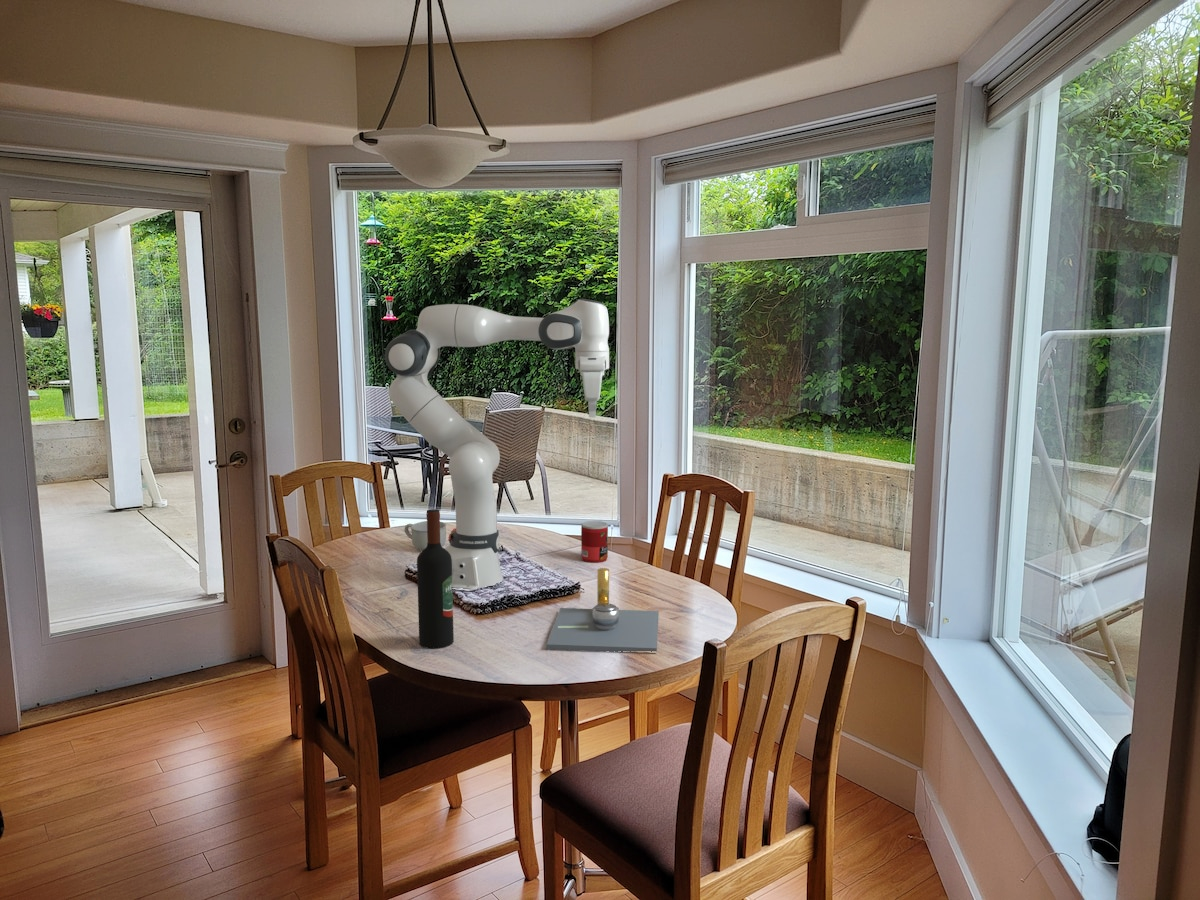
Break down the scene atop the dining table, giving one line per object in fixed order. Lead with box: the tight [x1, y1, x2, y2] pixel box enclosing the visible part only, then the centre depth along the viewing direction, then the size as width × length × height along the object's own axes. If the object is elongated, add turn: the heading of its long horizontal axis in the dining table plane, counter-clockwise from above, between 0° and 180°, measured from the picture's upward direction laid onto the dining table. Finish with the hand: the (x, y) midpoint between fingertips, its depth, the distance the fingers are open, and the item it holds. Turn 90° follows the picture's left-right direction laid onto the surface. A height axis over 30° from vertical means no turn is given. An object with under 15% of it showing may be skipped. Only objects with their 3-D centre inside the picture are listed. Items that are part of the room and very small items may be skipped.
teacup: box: [404, 520, 447, 552], centre depth 268 cm, size 14×11×8 cm
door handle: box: [592, 567, 620, 626], centre depth 201 cm, size 15×6×9 cm, turn 3°
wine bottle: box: [416, 508, 455, 650], centre depth 188 cm, size 8×8×30 cm
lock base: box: [545, 607, 660, 653], centre depth 197 cm, size 24×24×2 cm
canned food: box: [580, 520, 609, 564], centre depth 256 cm, size 8×8×11 cm
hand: (592, 415), depth 224 cm, fingers open, 8 cm apart
